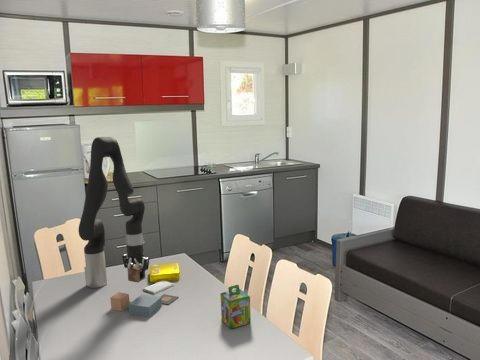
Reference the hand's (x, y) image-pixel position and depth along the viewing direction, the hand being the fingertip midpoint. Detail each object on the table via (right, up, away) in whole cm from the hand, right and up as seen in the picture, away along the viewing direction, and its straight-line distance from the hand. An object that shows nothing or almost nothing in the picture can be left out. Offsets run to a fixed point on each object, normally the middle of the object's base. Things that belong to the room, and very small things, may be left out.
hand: (136, 277), depth 191 cm
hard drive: (+8, -8, +10) cm, 15 cm away
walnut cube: (0, -1, 0) cm, 1 cm away
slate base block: (+7, -11, -12) cm, 18 cm away
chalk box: (+46, -12, -25) cm, 54 cm away
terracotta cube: (-5, -11, -9) cm, 15 cm away
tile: (+14, -9, -3) cm, 17 cm away
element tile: (+8, -6, +25) cm, 27 cm away
